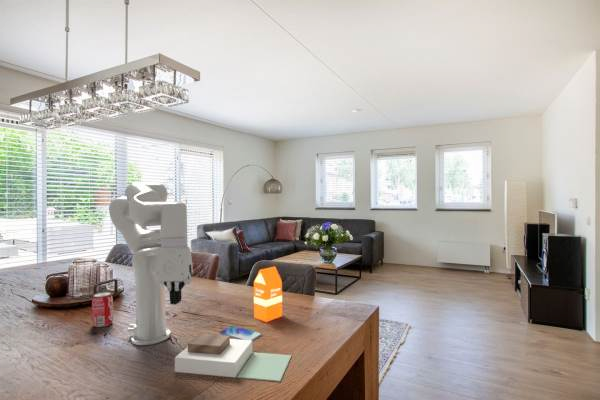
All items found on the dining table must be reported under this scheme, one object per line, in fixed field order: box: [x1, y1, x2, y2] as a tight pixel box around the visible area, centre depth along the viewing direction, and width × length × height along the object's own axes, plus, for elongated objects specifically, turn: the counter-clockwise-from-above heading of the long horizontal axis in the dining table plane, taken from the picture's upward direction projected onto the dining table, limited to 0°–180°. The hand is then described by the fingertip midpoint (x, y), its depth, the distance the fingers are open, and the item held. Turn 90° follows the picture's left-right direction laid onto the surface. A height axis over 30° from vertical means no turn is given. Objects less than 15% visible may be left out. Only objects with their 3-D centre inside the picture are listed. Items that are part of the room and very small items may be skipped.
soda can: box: [91, 291, 114, 328], centre depth 126 cm, size 7×7×12 cm
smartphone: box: [218, 325, 263, 342], centre depth 116 cm, size 7×1×15 cm
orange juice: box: [253, 266, 283, 323], centre depth 132 cm, size 8×9×20 cm
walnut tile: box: [187, 333, 231, 355], centre depth 96 cm, size 10×7×2 cm
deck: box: [174, 338, 254, 378], centre depth 96 cm, size 18×14×4 cm
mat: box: [236, 351, 292, 382], centre depth 93 cm, size 12×14×1 cm
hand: (175, 302), depth 98 cm, fingers closed
